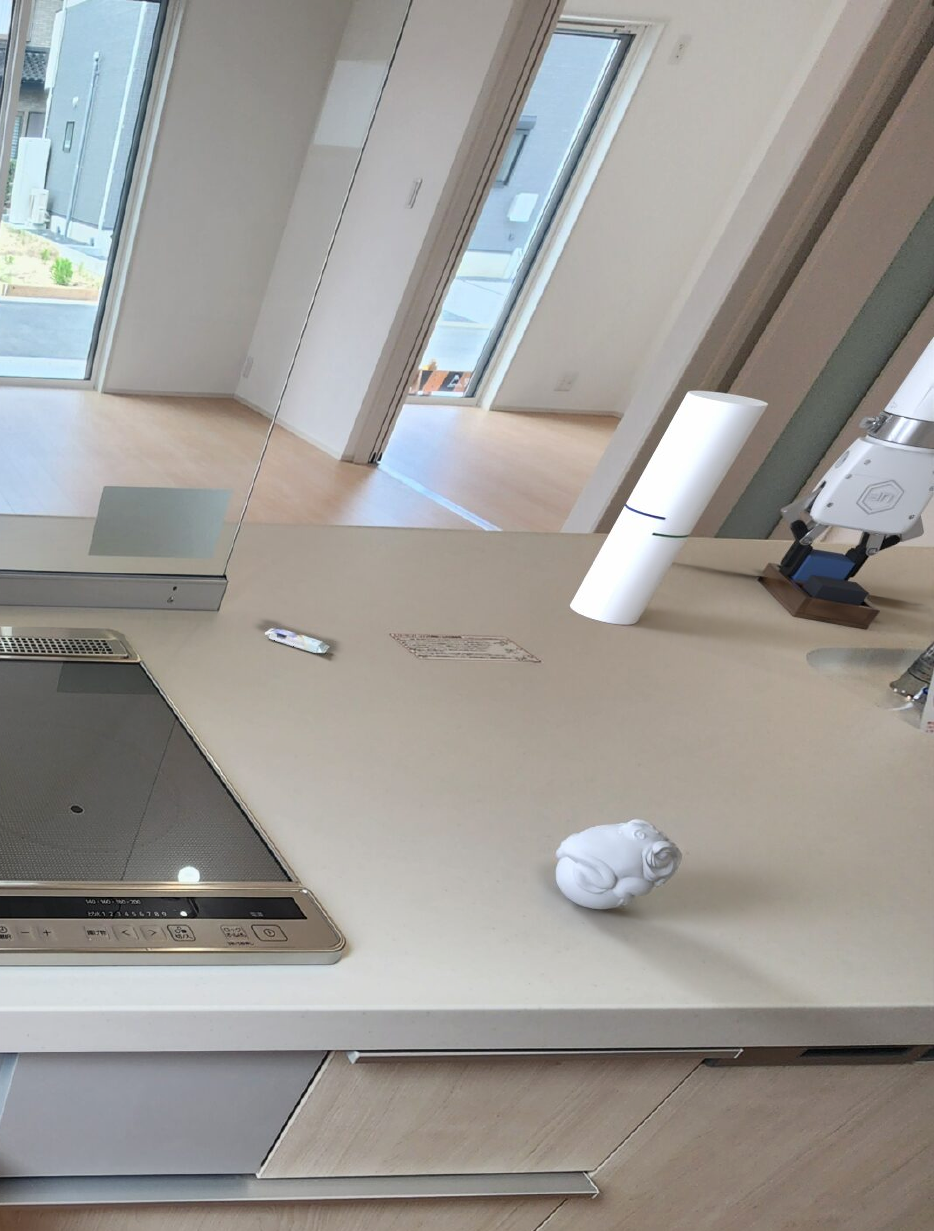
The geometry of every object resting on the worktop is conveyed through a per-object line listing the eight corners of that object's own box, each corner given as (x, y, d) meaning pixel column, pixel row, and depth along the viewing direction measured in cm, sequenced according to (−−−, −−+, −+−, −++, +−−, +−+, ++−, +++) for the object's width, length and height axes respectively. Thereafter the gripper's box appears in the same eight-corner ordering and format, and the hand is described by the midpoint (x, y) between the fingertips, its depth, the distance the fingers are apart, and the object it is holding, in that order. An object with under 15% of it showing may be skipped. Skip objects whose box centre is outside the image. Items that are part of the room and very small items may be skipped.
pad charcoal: (838, 607, 124) (856, 582, 122) (850, 618, 121) (869, 593, 119) (793, 599, 125) (810, 574, 123) (804, 610, 122) (822, 585, 120)
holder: (824, 591, 130) (836, 573, 129) (866, 629, 119) (880, 610, 118) (757, 579, 132) (768, 562, 131) (792, 616, 122) (805, 597, 120)
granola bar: (329, 651, 105) (332, 642, 104) (322, 657, 103) (325, 649, 103) (268, 632, 108) (271, 623, 108) (261, 638, 107) (264, 629, 106)
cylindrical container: (577, 597, 123) (693, 388, 108) (642, 614, 119) (772, 400, 104) (563, 610, 119) (682, 395, 104) (630, 629, 115) (763, 408, 100)
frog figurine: (656, 935, 68) (716, 859, 64) (552, 920, 69) (605, 844, 65) (614, 883, 73) (667, 809, 69) (517, 870, 74) (564, 795, 70)
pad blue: (825, 578, 128) (843, 553, 126) (837, 588, 125) (855, 563, 123) (782, 571, 130) (799, 546, 127) (793, 580, 126) (810, 556, 124)
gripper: (838, 428, 116) (743, 572, 127) (1018, 451, 111) (903, 599, 122) (816, 416, 121) (727, 555, 132) (986, 438, 116) (879, 581, 127)
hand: (812, 575), depth 127 cm, fingers closed on pad blue, 4 cm apart
